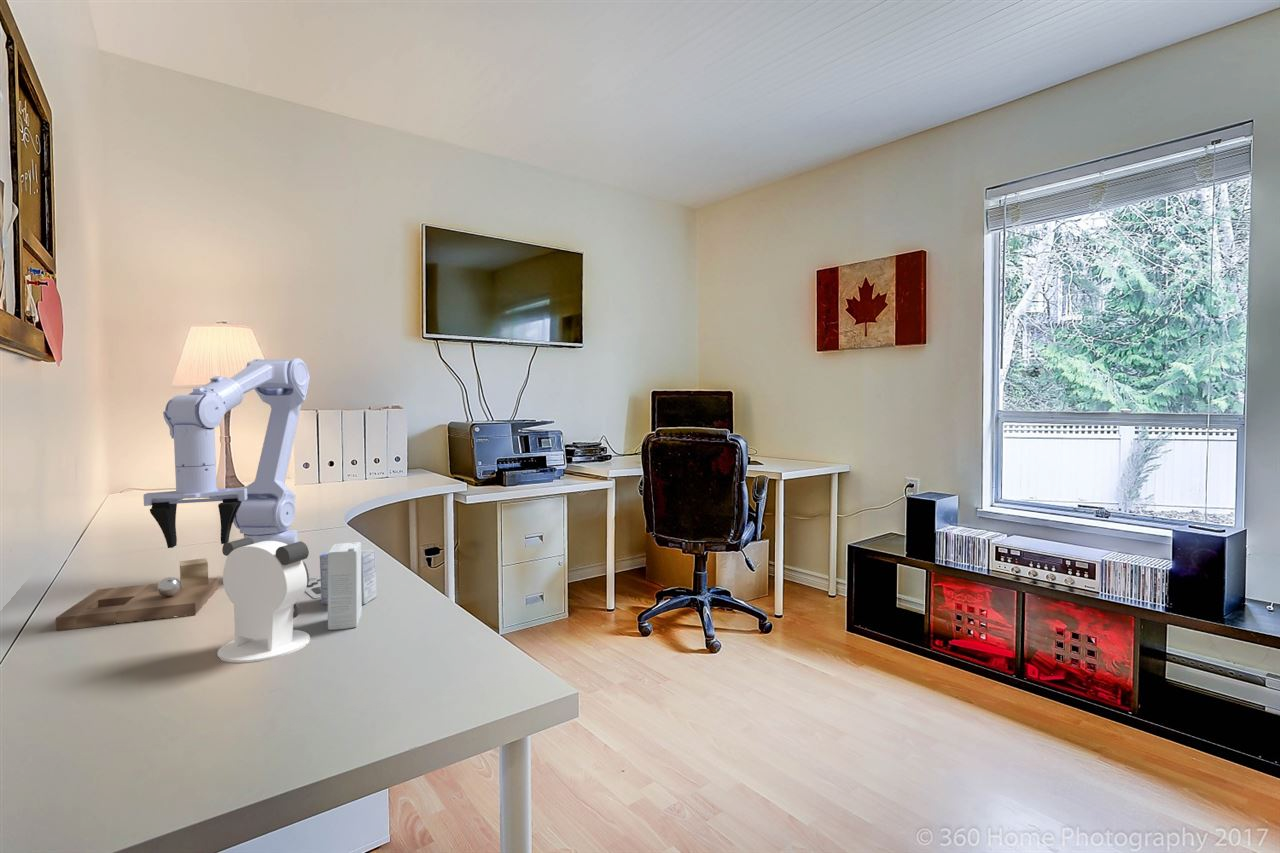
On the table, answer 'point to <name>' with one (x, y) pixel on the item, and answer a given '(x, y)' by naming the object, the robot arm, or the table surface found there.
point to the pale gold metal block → (193, 573)
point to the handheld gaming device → (314, 587)
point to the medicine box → (366, 576)
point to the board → (134, 605)
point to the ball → (168, 586)
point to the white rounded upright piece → (264, 598)
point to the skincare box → (344, 586)
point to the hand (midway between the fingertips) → (198, 544)
